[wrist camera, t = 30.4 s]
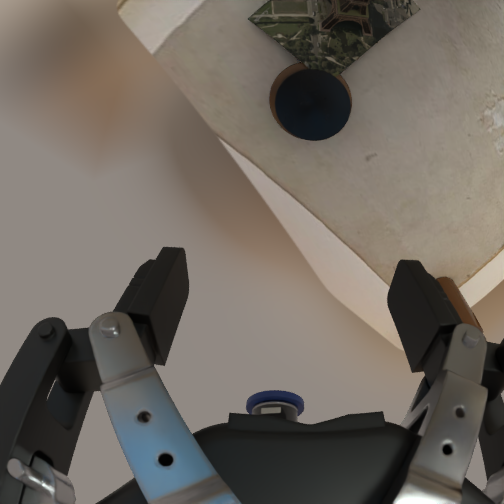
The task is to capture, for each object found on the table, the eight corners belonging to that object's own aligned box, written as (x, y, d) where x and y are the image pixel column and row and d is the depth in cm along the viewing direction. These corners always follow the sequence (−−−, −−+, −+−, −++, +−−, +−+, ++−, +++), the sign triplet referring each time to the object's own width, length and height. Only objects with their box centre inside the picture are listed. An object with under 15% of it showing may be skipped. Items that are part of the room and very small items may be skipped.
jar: (445, 309, 39) (474, 369, 28) (413, 310, 39) (439, 376, 29) (460, 276, 35) (498, 336, 25) (426, 276, 36) (462, 342, 25)
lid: (288, 57, 23) (288, 57, 21) (355, 83, 23) (362, 85, 21) (266, 120, 27) (265, 126, 25) (331, 143, 27) (334, 151, 25)
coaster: (346, 143, 28) (348, 144, 27) (268, 136, 28) (267, 137, 28) (353, 68, 23) (354, 67, 23) (270, 59, 24) (270, 58, 23)
